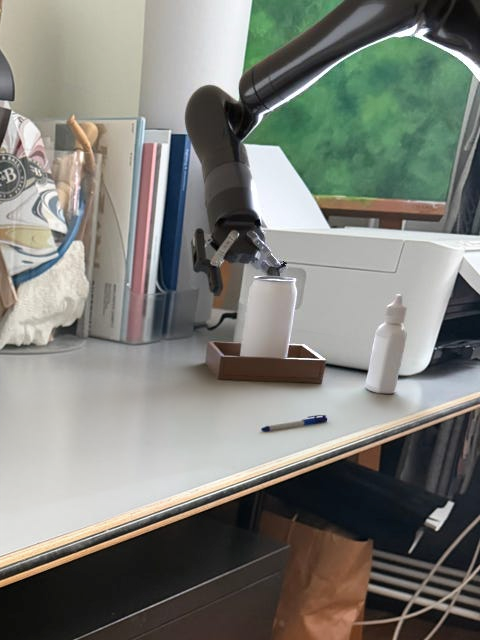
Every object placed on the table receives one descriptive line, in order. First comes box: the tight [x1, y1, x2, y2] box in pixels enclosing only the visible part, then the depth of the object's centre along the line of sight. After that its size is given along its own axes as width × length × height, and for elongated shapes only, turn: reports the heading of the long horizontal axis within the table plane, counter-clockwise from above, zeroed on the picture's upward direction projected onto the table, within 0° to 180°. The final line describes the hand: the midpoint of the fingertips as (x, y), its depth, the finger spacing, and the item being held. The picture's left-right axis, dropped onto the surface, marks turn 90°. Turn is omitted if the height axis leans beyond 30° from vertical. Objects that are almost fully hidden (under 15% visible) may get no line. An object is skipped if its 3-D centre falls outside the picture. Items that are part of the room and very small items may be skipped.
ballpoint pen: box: [260, 414, 328, 432], centre depth 106 cm, size 10×1×1 cm, turn 124°
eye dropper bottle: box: [365, 293, 408, 394], centre depth 122 cm, size 4×6×12 cm
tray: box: [204, 340, 327, 384], centre depth 133 cm, size 14×12×3 cm
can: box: [240, 275, 298, 358], centre depth 130 cm, size 6×6×12 cm
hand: (246, 293), depth 137 cm, fingers open, 8 cm apart
